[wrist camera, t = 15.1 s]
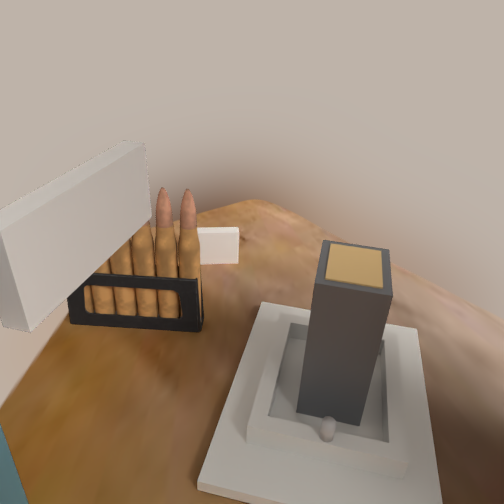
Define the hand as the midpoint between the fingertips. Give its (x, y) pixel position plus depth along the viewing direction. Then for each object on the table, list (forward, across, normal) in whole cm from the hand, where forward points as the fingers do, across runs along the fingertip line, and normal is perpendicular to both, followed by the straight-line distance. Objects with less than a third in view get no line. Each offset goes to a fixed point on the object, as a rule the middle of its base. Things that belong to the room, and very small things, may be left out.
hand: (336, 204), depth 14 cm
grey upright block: (+9, +1, -18) cm, 20 cm away
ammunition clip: (+12, -15, -18) cm, 27 cm away
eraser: (+24, -12, -18) cm, 32 cm away
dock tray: (+9, +1, -18) cm, 20 cm away
